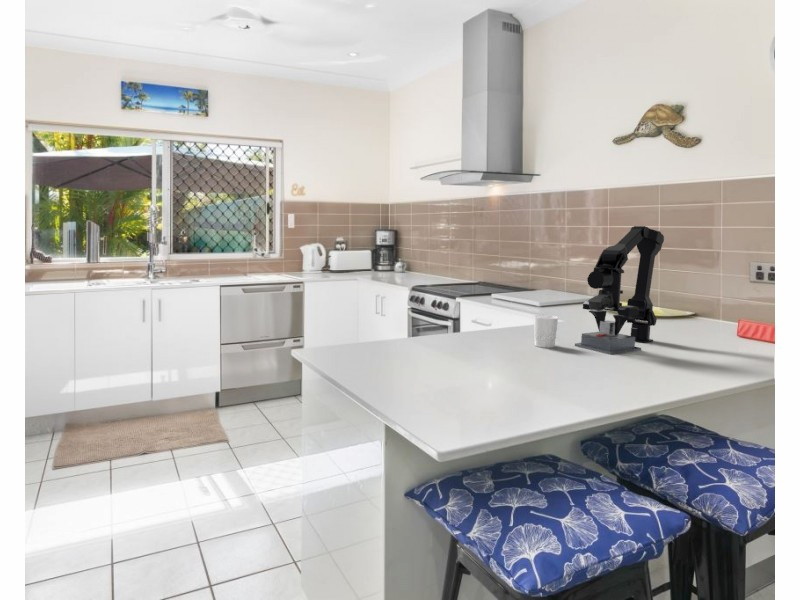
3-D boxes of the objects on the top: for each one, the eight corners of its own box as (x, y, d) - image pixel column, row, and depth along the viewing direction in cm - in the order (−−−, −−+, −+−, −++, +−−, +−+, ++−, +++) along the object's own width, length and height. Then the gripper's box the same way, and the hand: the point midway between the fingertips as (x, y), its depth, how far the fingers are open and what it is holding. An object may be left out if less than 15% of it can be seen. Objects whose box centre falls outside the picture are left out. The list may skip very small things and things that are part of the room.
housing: (604, 342, 201) (605, 328, 200) (641, 350, 188) (642, 335, 187) (574, 345, 193) (575, 331, 193) (610, 354, 180) (611, 339, 180)
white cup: (557, 348, 188) (558, 319, 186) (532, 347, 189) (534, 318, 188) (555, 344, 195) (557, 315, 194) (532, 343, 197) (533, 314, 196)
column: (606, 343, 193) (608, 320, 192) (616, 345, 190) (618, 322, 189) (598, 344, 191) (599, 321, 190) (608, 346, 187) (609, 323, 186)
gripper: (572, 285, 192) (570, 330, 194) (618, 291, 176) (615, 340, 178) (595, 284, 197) (592, 328, 199) (641, 289, 181) (638, 337, 183)
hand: (608, 333), depth 190 cm, fingers open, 6 cm apart
